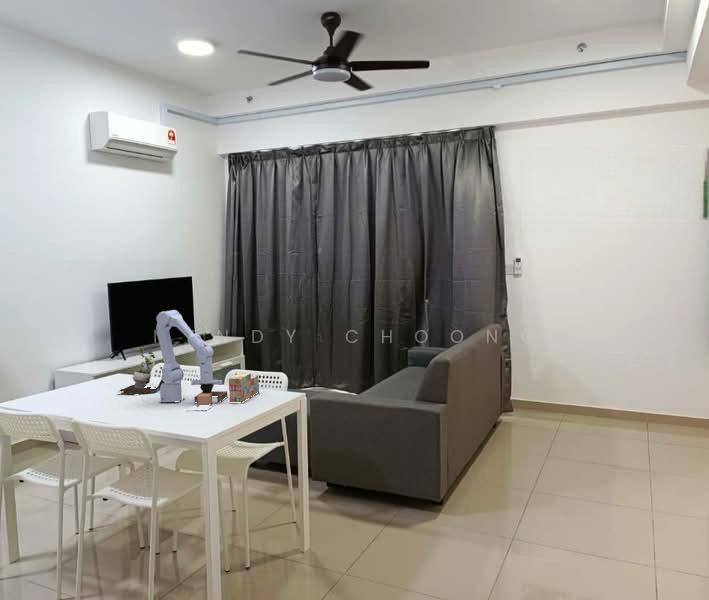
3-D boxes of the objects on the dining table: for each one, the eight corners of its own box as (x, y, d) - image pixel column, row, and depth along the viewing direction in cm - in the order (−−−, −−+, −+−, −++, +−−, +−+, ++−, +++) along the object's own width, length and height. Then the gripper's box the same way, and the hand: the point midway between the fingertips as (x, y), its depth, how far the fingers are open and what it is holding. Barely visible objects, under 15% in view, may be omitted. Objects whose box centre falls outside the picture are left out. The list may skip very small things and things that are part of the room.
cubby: (194, 403, 265) (194, 397, 264) (203, 397, 276) (202, 391, 276) (219, 403, 263) (219, 396, 263) (227, 397, 275) (227, 391, 274)
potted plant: (130, 391, 305) (142, 347, 307) (164, 399, 304) (175, 354, 307) (115, 393, 285) (128, 346, 287) (150, 402, 284) (163, 354, 287)
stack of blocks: (247, 392, 283) (246, 368, 283) (259, 393, 282) (258, 369, 281) (229, 403, 263) (228, 377, 262) (241, 404, 261) (240, 378, 260)
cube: (198, 406, 258) (197, 396, 258) (202, 403, 263) (201, 393, 263) (208, 406, 258) (207, 396, 257) (212, 403, 263) (211, 393, 262)
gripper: (223, 369, 267) (225, 397, 268) (194, 370, 268) (196, 397, 269) (218, 372, 260) (220, 401, 261) (189, 373, 261) (190, 401, 262)
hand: (207, 399), depth 265 cm, fingers closed, pressing on cube
